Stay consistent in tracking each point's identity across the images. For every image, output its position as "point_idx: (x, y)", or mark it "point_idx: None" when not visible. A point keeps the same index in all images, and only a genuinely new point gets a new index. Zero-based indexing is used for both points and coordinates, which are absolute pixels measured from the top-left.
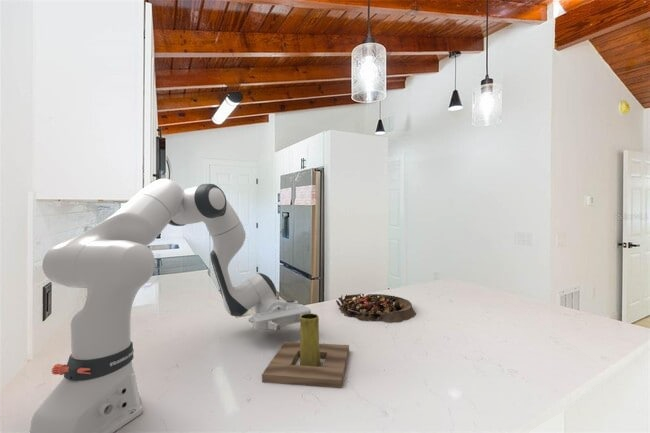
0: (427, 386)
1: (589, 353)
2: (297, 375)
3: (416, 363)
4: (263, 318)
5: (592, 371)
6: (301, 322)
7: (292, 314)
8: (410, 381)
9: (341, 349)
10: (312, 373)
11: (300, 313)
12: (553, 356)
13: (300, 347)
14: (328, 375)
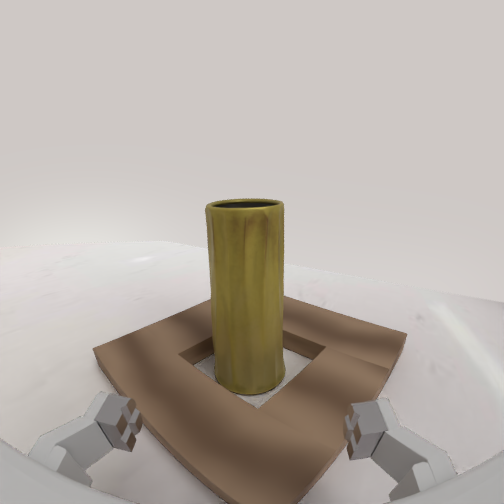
0: (146, 268)
1: (16, 250)
2: (322, 311)
3: (89, 289)
4: (501, 471)
5: (48, 245)
6: (283, 222)
7: (120, 498)
8: (148, 276)
9: (131, 345)
10: (286, 307)
11: (40, 465)
12: (26, 255)
13: (282, 326)
14: None
